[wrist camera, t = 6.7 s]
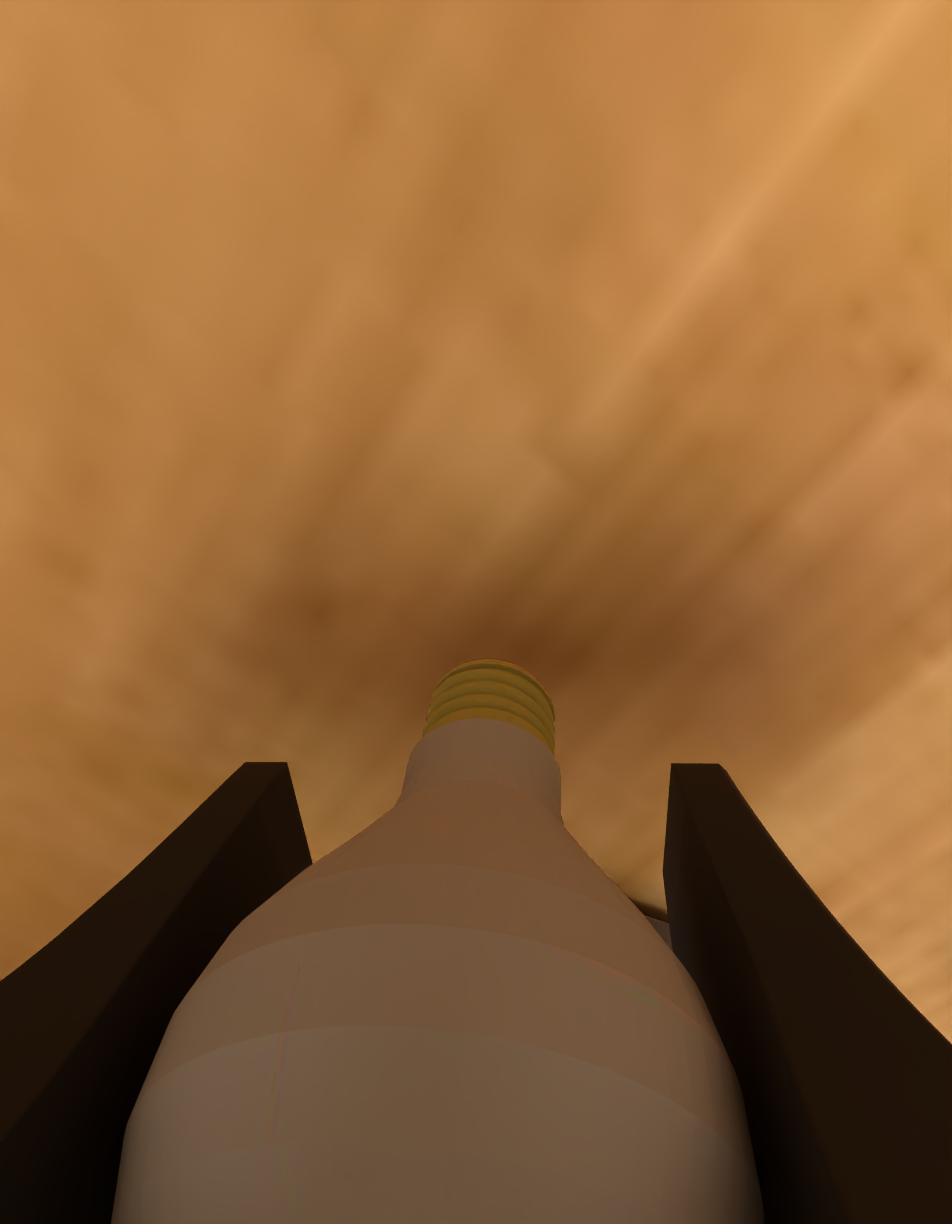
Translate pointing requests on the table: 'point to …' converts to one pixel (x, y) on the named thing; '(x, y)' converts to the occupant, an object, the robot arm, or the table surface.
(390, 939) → the light bulb
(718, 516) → the table surface
